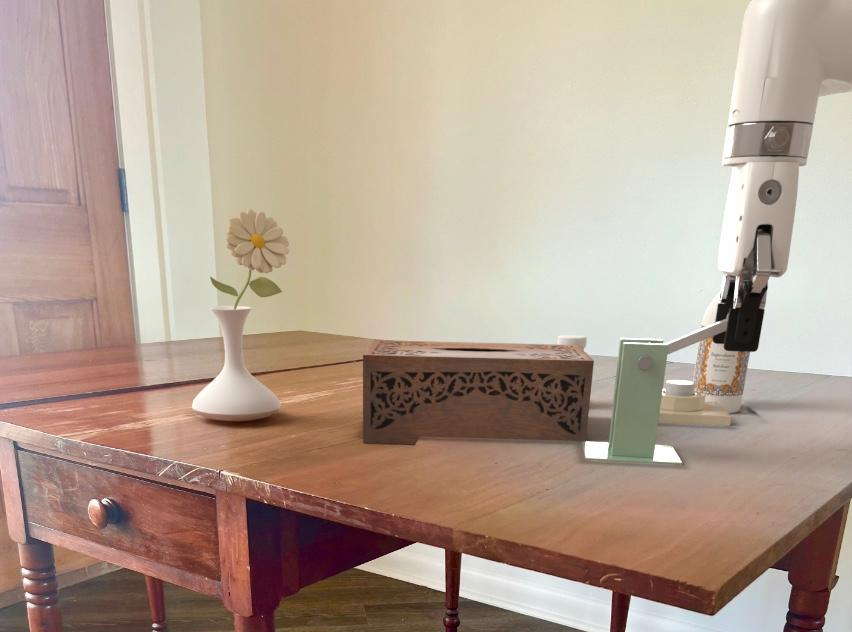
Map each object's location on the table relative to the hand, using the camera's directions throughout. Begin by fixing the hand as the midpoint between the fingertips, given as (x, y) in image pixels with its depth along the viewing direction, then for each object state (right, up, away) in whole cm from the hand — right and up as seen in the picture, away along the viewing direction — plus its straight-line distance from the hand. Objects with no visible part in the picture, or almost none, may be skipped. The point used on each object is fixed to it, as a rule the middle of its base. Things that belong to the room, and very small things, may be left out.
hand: (734, 345), depth 89 cm
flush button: (+2, +1, +25) cm, 25 cm away
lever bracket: (-9, -11, +6) cm, 16 cm away
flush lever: (-4, 0, +1) cm, 4 cm away
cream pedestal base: (+2, -3, +26) cm, 26 cm away
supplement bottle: (-10, +2, +36) cm, 38 cm away
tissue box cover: (-25, -6, +19) cm, 32 cm away
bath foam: (+11, +1, +35) cm, 37 cm away
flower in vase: (-55, -3, +24) cm, 60 cm away
